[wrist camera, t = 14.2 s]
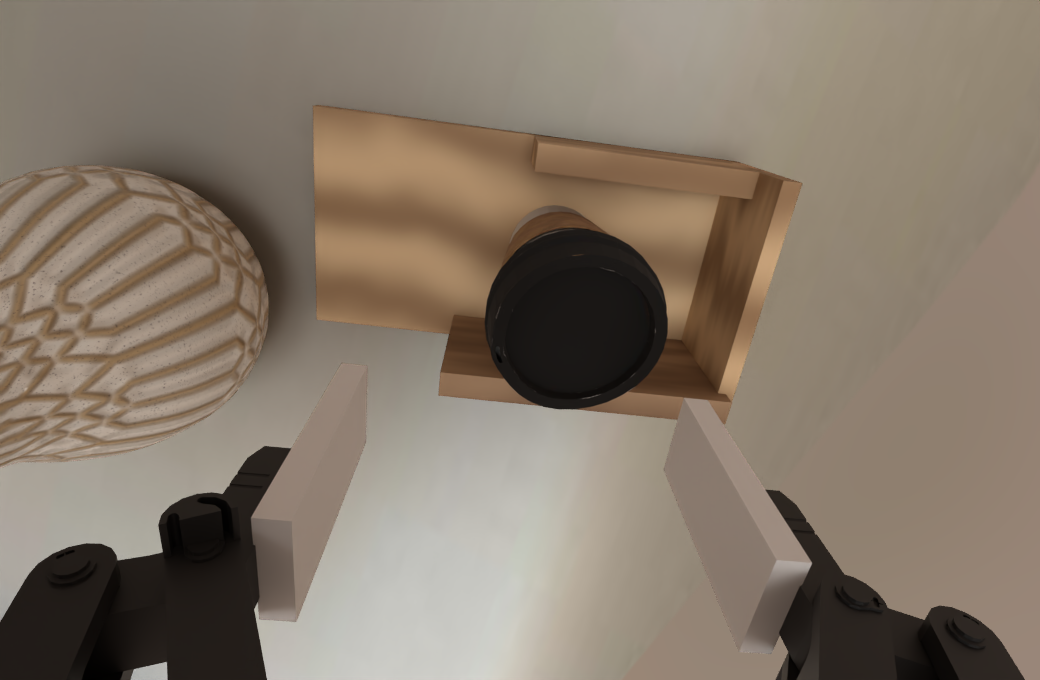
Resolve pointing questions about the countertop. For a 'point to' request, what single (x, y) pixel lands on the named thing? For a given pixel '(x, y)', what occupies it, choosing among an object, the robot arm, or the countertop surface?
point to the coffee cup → (573, 312)
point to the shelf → (493, 218)
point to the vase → (118, 312)
